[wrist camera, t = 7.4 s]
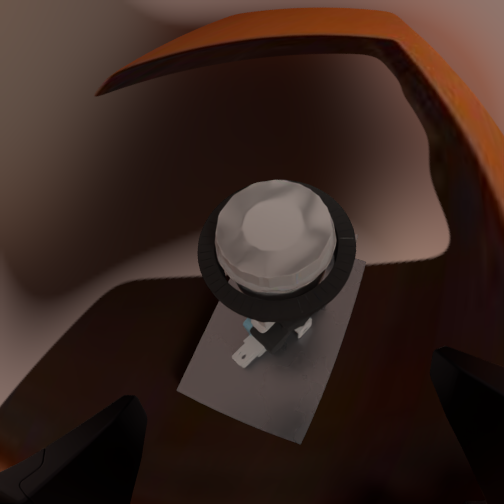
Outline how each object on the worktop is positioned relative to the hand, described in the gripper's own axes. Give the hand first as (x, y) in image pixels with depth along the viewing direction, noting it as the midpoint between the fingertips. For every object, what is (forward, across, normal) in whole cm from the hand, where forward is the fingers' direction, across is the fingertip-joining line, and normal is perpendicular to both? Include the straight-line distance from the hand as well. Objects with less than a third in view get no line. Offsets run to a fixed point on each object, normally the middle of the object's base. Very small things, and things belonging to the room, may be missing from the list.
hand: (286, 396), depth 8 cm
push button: (+10, 0, +3) cm, 10 cm away
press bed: (+10, 0, +4) cm, 11 cm away
